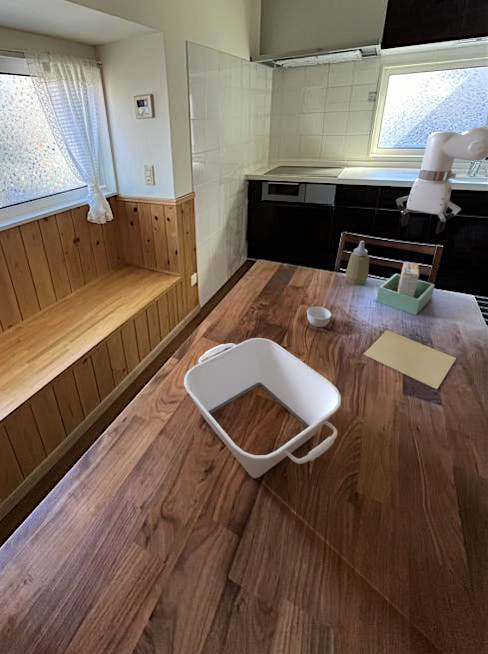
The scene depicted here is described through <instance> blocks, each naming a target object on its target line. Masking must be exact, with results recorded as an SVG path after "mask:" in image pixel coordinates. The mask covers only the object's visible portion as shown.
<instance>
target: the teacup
mask: <svg viewBox="0 0 488 654" xmlns="http://www.w3.org/2000/svg"><path fill="white" fill-rule="evenodd" d="M306 313H307V314H306V315H307V320H308V322H309V324H311V325H312V326H313V327H316V328H323V327H326V326H327V325H328V324H329V323H330V321H331V318H332V312H331V310H329V309H328V308H326V307H322V306H311V307H308V309H307V310H306Z"/></svg>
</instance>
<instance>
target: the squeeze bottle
mask: <svg viewBox="0 0 488 654" xmlns="http://www.w3.org/2000/svg"><path fill="white" fill-rule="evenodd" d="M365 247H366V246H365V241H364V240H360V241H359V244H358V246H357V247H356V248H354V249H353V252H352V253H351V254H350V256H349V259H348V263H347V268H346V271H345V277H346V280H347V282H348V283H349V284H351V285H356V286H360V285H361V286H362V285H364V284H365V283H366V281H367V279H368V278H369V272H370V270H369V269H370V256H369V255H368V250H367V248H365Z"/></svg>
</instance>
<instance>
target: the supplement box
mask: <svg viewBox="0 0 488 654" xmlns="http://www.w3.org/2000/svg"><path fill="white" fill-rule="evenodd" d="M400 275H401V276H400V280H399V285H398V289H397V291H396V292H398V293H401V294H404V295H408V296H411V297H414V298H415V294H414V293H415V290H416V286H417V282H418V280H419V277H420V264H418V263H412V262H411V263H410V262H403V263H402V268H401V272H400Z"/></svg>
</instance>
